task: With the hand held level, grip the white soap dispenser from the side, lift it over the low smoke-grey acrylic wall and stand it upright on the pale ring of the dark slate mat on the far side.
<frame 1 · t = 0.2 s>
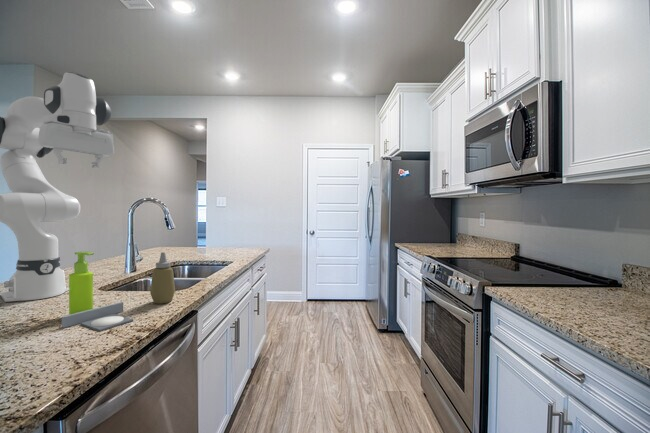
hand: (79, 165, 100), 48 cm above the countertop, tool pointing down, fingers open, 8 cm apart
acrylic wall: (94, 318, 93), on the countertop
soap dispenser: (82, 315, 96), on the countertop
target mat: (107, 322, 89), on the countertop
squeeze bottle: (162, 302, 110), on the countertop
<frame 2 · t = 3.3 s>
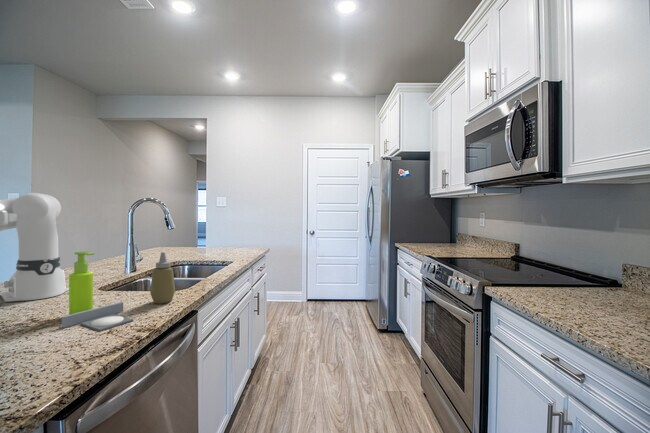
hand: (17, 216, 82), 31 cm above the countertop, tool horizontal, fingers open, 8 cm apart
nothing on the countertop moved.
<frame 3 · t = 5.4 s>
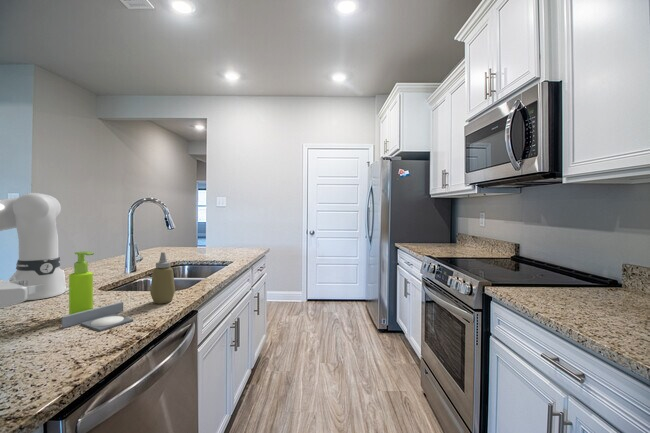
hand: (34, 284, 85), 12 cm above the countertop, tool horizontal, fingers open, 8 cm apart
nothing on the countertop moved.
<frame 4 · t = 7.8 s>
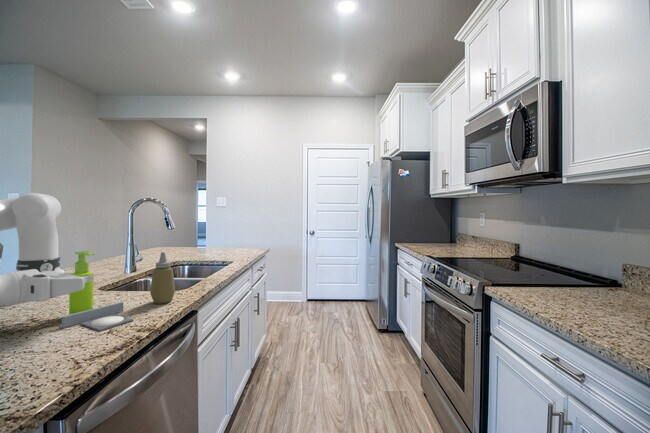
hand: (85, 276, 96), 12 cm above the countertop, tool horizontal, fingers open, 6 cm apart
soap dispenser: (82, 315, 96), on the countertop, touching gripper
everything else where it was.
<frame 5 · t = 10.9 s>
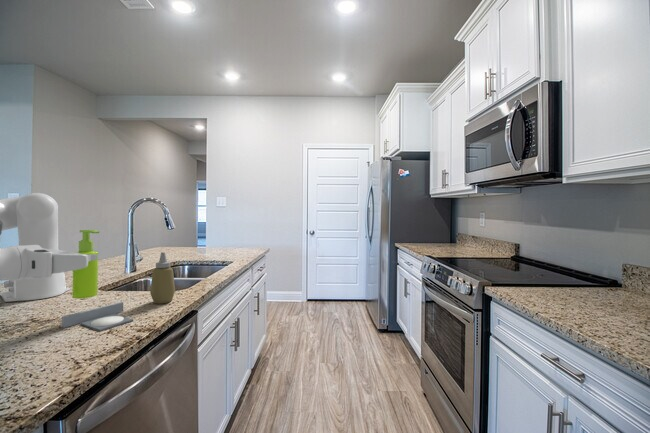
hand: (89, 255, 92), 19 cm above the countertop, tool horizontal, fingers closed on soap dispenser, 6 cm apart
soap dispenser: (86, 296, 91), point 7 cm above the countertop, touching gripper
everything else where it was.
when the fingers open (13 cm above the countertop, at t = 13.9 s): soap dispenser moves 1 cm, resting on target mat.
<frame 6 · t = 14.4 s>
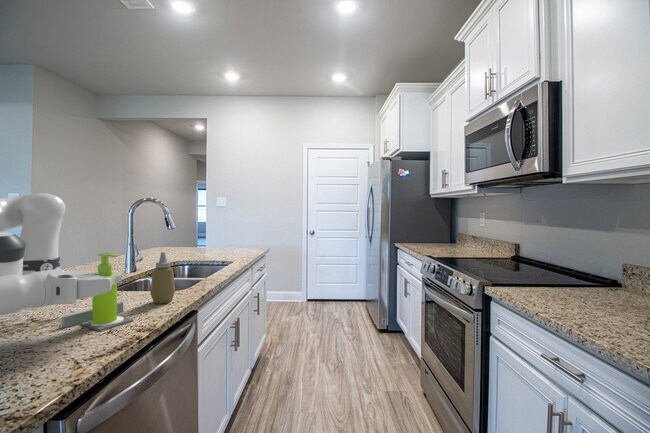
hand: (110, 276, 90), 13 cm above the countertop, tool horizontal, fingers open, 8 cm apart
soap dispenser: (106, 321, 89), resting on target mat
everything else where it was.
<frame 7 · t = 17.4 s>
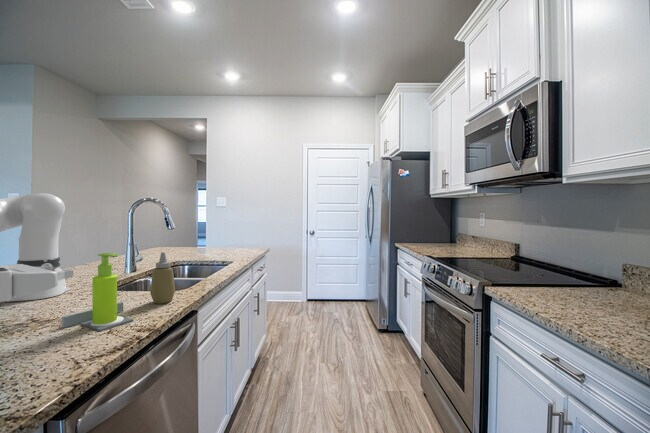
hand: (62, 271, 79), 17 cm above the countertop, tool horizontal, fingers open, 8 cm apart
nothing on the countertop moved.
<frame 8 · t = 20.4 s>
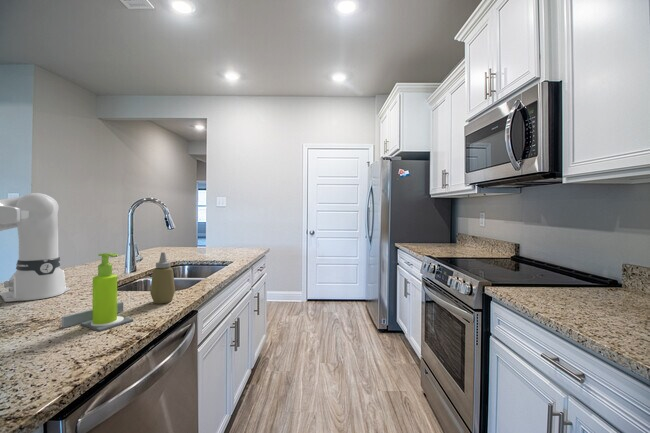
hand: (28, 214, 81), 32 cm above the countertop, tool horizontal, fingers open, 8 cm apart
nothing on the countertop moved.
at the end: soap dispenser inside the target area on the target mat (0.4 cm from its centre), point 0.4 cm above the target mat's base; soap dispenser tilted 0°; the gripper is holding nothing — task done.
